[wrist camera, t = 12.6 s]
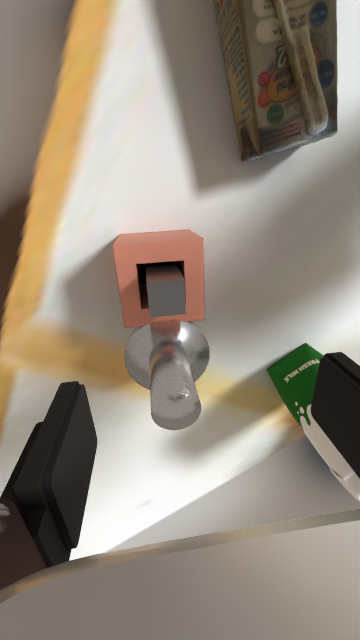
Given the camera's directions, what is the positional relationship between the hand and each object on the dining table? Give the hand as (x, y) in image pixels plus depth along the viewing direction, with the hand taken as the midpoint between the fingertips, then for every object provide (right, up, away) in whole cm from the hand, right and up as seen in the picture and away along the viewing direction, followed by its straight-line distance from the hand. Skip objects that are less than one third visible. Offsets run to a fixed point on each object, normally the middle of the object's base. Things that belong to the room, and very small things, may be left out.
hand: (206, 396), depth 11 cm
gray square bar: (-4, +10, +22) cm, 24 cm away
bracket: (-4, +8, +23) cm, 24 cm away
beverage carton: (+6, +29, +15) cm, 34 cm away
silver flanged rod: (-3, +2, +25) cm, 26 cm away
